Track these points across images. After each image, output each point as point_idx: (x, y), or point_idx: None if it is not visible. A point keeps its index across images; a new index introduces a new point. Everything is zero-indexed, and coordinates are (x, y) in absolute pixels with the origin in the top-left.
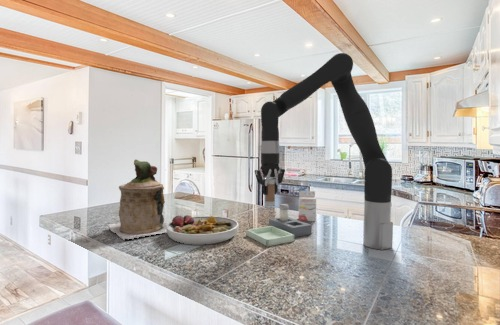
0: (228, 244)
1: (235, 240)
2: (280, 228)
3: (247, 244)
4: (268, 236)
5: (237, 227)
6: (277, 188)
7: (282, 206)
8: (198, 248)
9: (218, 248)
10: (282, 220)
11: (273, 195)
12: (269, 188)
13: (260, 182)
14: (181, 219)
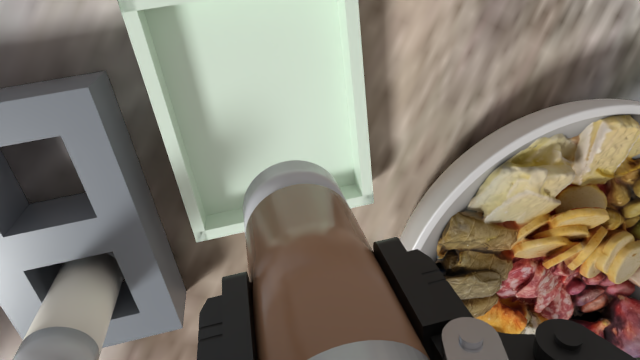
0: (504, 82)
1: (446, 131)
2: (148, 206)
3: (424, 46)
4: (266, 120)
5: (435, 203)
6: (199, 347)
7: (76, 356)
8: (635, 75)
9: (570, 40)
10: (104, 276)
11: (289, 228)
12: (377, 290)
13: (604, 347)
14: (636, 325)
